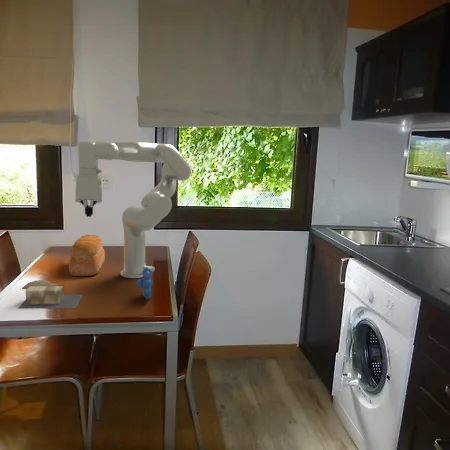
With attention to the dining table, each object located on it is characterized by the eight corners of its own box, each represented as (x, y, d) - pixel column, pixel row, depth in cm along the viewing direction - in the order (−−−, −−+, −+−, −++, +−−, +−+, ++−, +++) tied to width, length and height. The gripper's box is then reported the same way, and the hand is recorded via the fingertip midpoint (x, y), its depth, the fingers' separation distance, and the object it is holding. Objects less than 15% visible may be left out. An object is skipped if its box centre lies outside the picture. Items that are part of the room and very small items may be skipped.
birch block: (62, 286, 167) (29, 286, 165) (59, 290, 162) (25, 290, 160) (63, 298, 168) (30, 298, 166) (60, 303, 163) (26, 303, 161)
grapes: (135, 292, 179) (135, 264, 177) (151, 291, 181) (152, 263, 178) (136, 302, 168) (136, 272, 166) (154, 302, 170) (154, 272, 167)
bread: (106, 261, 222) (106, 232, 219) (97, 277, 196) (97, 244, 194) (78, 261, 220) (78, 231, 217) (66, 277, 195) (65, 243, 192)
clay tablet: (49, 282, 188) (48, 276, 187) (64, 287, 183) (64, 281, 182) (17, 291, 176) (17, 285, 175) (33, 297, 171) (33, 290, 170)
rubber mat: (83, 295, 173) (83, 294, 173) (75, 309, 159) (75, 308, 159) (29, 295, 170) (29, 294, 170) (17, 309, 156) (17, 308, 156)
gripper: (108, 172, 184) (108, 215, 188) (71, 170, 182) (72, 214, 186) (105, 173, 177) (106, 218, 180) (67, 172, 175) (68, 217, 178)
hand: (89, 216), depth 183 cm, fingers closed
